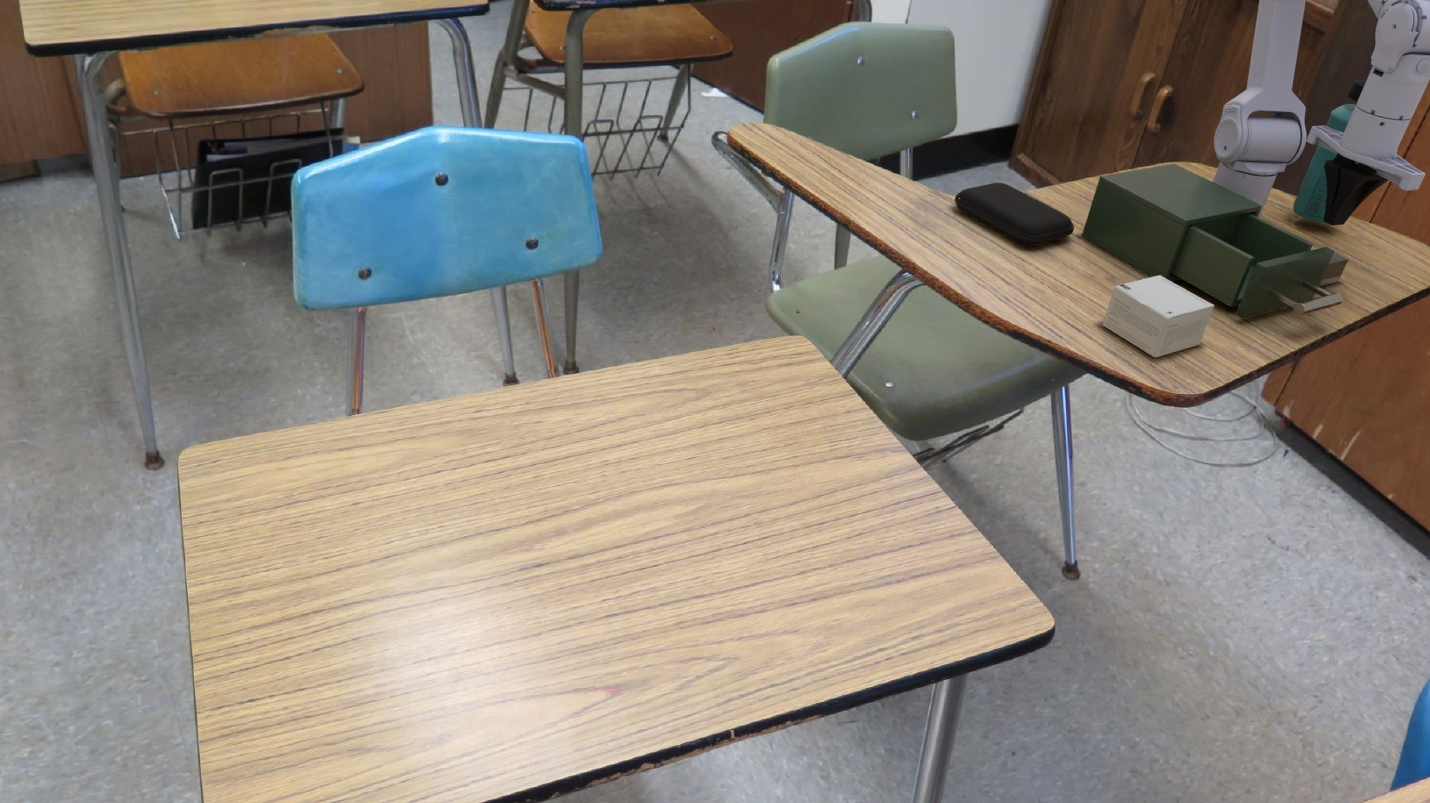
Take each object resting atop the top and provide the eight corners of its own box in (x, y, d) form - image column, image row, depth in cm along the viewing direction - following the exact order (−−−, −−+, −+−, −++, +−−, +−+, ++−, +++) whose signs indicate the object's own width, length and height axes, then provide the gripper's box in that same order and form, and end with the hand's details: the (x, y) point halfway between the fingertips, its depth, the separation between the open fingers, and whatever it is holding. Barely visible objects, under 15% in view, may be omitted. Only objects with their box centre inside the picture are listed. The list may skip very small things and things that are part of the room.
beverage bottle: (1318, 237, 148) (1382, 94, 137) (1276, 218, 152) (1334, 77, 141) (1345, 229, 151) (1409, 89, 140) (1303, 211, 156) (1361, 73, 144)
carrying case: (1083, 239, 141) (1001, 195, 150) (1089, 217, 139) (1006, 175, 149) (1026, 254, 135) (945, 207, 145) (1032, 231, 134) (950, 186, 143)
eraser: (1313, 269, 139) (1323, 247, 137) (1338, 281, 137) (1348, 259, 135) (1273, 279, 136) (1283, 256, 134) (1298, 292, 133) (1308, 269, 131)
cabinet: (1238, 266, 138) (1262, 205, 133) (1163, 283, 132) (1186, 220, 127) (1154, 221, 148) (1174, 163, 143) (1081, 236, 141) (1099, 175, 137)
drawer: (1347, 319, 126) (1372, 268, 122) (1278, 339, 120) (1301, 286, 117) (1224, 254, 138) (1243, 206, 135) (1156, 269, 133) (1174, 220, 129)
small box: (1201, 345, 119) (1217, 305, 117) (1153, 359, 116) (1168, 318, 113) (1146, 312, 125) (1161, 273, 122) (1099, 325, 121) (1112, 285, 118)
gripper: (1465, 133, 116) (1408, 247, 124) (1359, 88, 127) (1312, 195, 135) (1417, 136, 114) (1362, 252, 121) (1313, 90, 125) (1269, 198, 132)
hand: (1333, 222), depth 128 cm, fingers closed
